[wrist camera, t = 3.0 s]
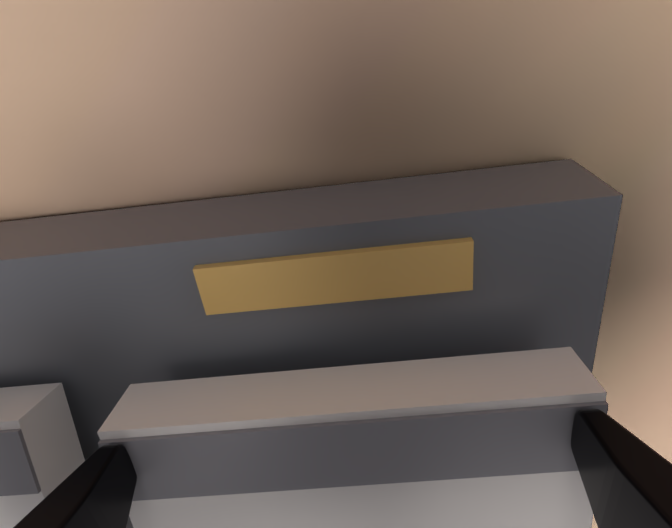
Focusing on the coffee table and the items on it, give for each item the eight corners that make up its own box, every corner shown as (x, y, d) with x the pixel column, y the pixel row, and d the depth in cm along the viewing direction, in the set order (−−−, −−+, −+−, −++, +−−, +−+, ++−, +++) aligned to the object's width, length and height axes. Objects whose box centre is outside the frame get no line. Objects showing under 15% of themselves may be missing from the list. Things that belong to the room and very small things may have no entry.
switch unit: (528, 529, 19) (563, 631, 16) (-44, 564, 21) (-111, 662, 18) (571, 158, 12) (650, 214, 9) (-309, 256, 14) (-500, 331, 10)
